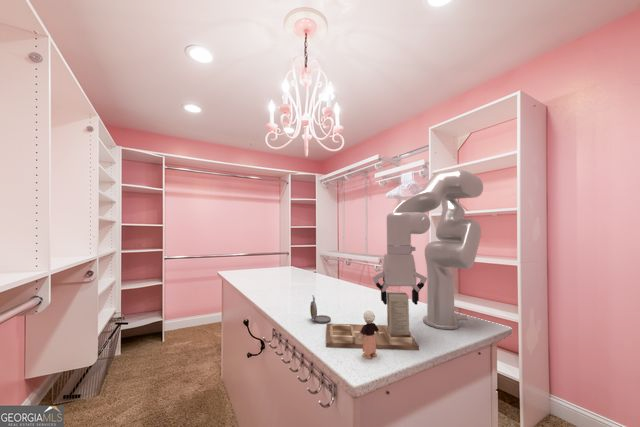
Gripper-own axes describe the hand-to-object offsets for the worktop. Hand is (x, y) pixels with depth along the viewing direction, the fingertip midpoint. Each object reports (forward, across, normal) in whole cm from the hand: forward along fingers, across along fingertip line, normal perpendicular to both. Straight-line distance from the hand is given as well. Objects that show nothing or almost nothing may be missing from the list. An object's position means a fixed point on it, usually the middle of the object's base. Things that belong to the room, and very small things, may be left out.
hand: (399, 303), depth 86 cm
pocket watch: (+12, +27, -16) cm, 34 cm away
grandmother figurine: (+12, +12, +10) cm, 20 cm away
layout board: (+12, +10, -2) cm, 16 cm away
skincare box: (+9, +1, +1) cm, 9 cm away
